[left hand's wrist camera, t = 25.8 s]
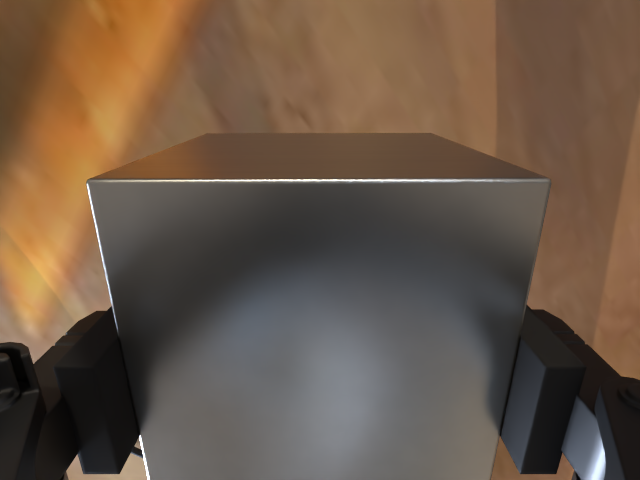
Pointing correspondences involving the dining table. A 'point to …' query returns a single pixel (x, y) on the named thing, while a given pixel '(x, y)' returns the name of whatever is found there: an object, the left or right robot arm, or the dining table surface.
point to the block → (319, 303)
